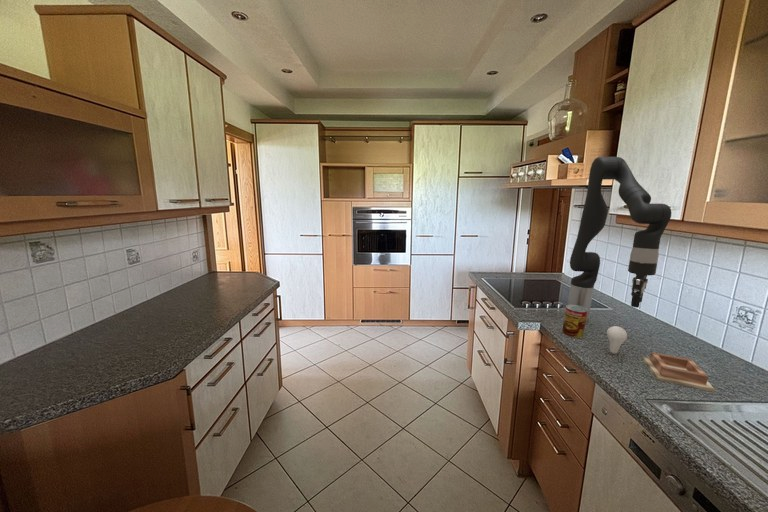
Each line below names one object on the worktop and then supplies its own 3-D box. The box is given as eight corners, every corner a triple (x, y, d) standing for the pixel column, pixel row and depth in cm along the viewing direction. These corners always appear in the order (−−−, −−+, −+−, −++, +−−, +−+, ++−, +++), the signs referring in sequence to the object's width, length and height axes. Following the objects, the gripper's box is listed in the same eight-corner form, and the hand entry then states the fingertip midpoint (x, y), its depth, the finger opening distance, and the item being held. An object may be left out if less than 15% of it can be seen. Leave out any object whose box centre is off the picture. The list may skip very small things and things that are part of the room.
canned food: (558, 331, 133) (562, 306, 130) (569, 328, 136) (572, 303, 133) (576, 339, 126) (580, 313, 123) (587, 335, 129) (591, 309, 127)
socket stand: (642, 358, 112) (644, 349, 111) (692, 368, 106) (694, 358, 105) (657, 380, 99) (659, 369, 98) (714, 392, 94) (717, 380, 93)
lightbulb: (614, 358, 112) (620, 331, 109) (599, 350, 117) (604, 324, 115) (627, 356, 113) (632, 329, 111) (611, 348, 119) (616, 322, 117)
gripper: (632, 256, 114) (626, 297, 117) (626, 261, 104) (620, 306, 107) (659, 259, 109) (651, 302, 111) (655, 264, 99) (647, 311, 101)
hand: (636, 304), depth 109 cm, fingers open, 8 cm apart
